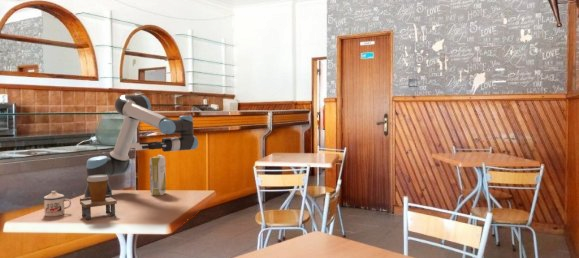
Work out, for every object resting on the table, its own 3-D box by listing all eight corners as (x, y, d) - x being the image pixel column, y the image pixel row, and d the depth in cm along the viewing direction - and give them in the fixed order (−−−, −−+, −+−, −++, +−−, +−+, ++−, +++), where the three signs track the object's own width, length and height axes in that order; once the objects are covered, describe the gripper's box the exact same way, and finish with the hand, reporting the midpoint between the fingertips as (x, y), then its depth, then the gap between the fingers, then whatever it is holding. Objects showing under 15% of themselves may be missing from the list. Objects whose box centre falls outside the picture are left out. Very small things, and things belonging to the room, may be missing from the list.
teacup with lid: (42, 217, 208) (42, 193, 207) (45, 213, 216) (44, 190, 216) (70, 214, 213) (70, 191, 212) (72, 211, 221) (71, 188, 220)
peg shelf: (80, 215, 210) (79, 198, 210) (110, 211, 219) (109, 194, 218) (85, 220, 201) (85, 202, 200) (117, 216, 209) (116, 198, 209)
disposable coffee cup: (101, 202, 204) (100, 177, 203) (83, 202, 206) (82, 177, 205) (113, 198, 213) (112, 174, 213) (95, 198, 215) (95, 174, 215)
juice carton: (162, 195, 257) (161, 155, 256) (149, 195, 258) (148, 155, 256) (167, 192, 267) (166, 154, 266) (154, 192, 267) (153, 154, 266)
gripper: (161, 136, 249) (123, 138, 236) (179, 138, 229) (138, 140, 216) (162, 149, 249) (124, 152, 236) (179, 152, 229) (138, 155, 216)
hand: (130, 146), depth 226 cm, fingers open, 13 cm apart
